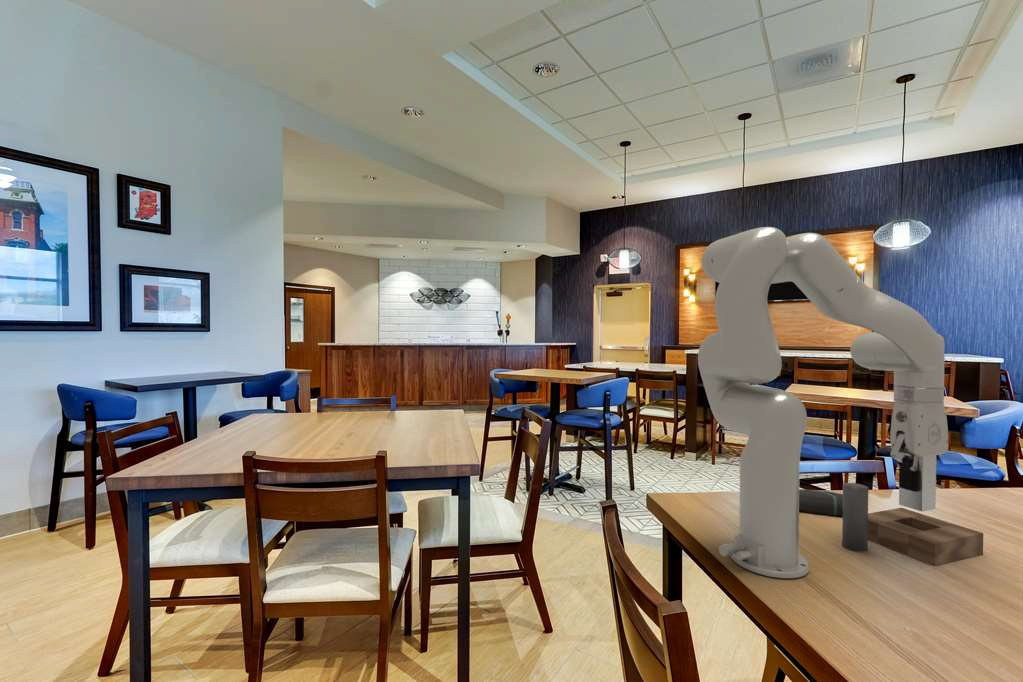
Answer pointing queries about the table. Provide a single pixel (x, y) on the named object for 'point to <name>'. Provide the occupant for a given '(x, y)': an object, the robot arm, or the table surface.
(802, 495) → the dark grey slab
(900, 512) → the bore block
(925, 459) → the square bit
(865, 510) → the round bit
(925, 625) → the table surface
